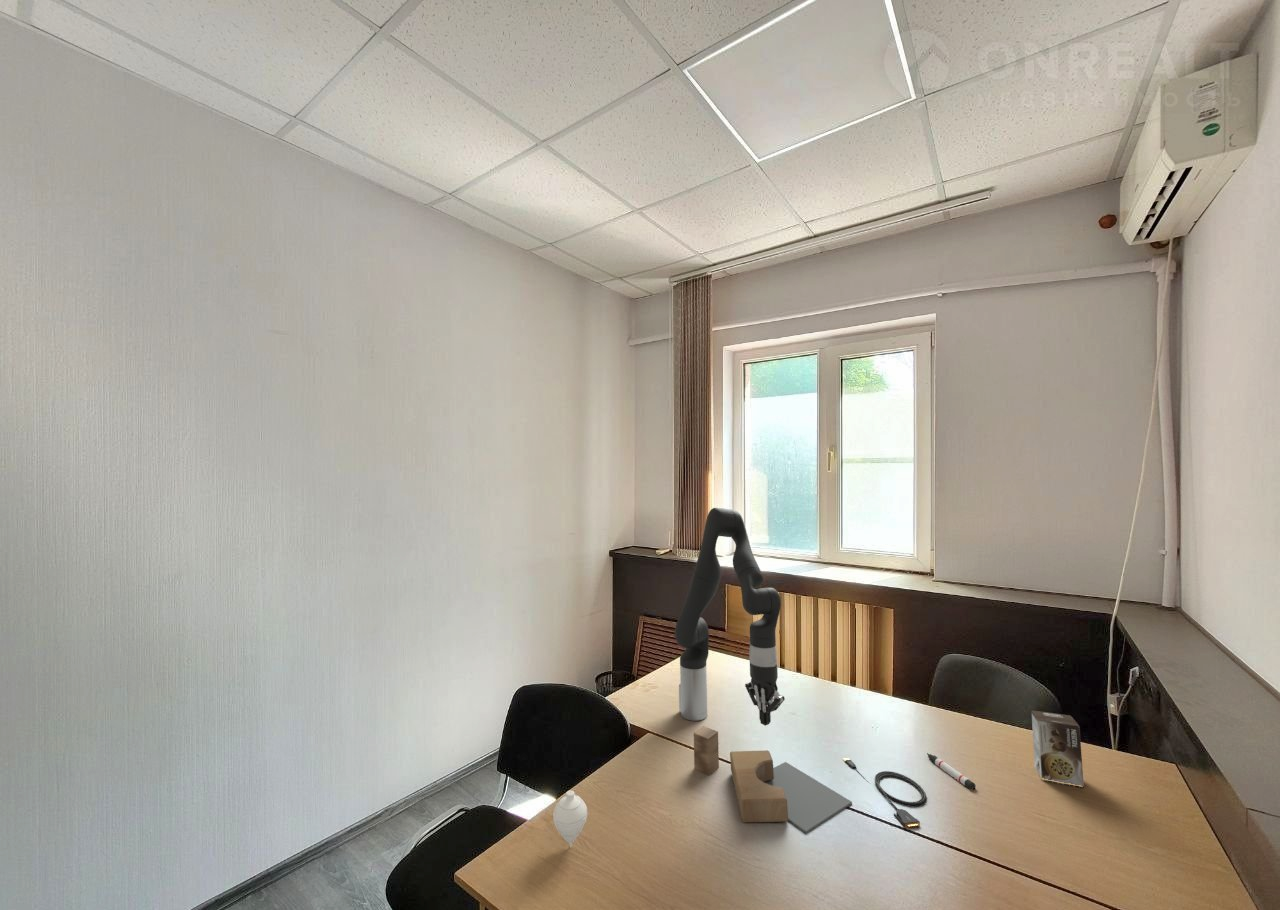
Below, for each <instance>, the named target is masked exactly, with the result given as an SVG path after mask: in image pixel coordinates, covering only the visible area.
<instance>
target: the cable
mask: <svg viewBox="0 0 1280 910" xmlns="http://www.w3.org/2000/svg"><path fill="white" fill-rule="evenodd" d="M842 759H843V762H844V763H845V764H846V765H847V766H848V767H849V768H850V769H852V770H855V771H856V772H857V773H858V775H860V777H862V779H863V780H865V781H866V782H867V783H869V784H870V782H869V781H868V780H867V779H866V777H864V776H863V774H861V773H860V772H859V770H857V766H856V764H855V763H854V762H853V761H852V760H851V759H850V758H842ZM885 778H894V779H898V780H901V781H904V782H906V783H908V784H910V785H911V786H913V787H914V788H915V789H916V790H917V791H918V792H919V794H920V796H921V798H920V799H919V800H916V801H906V800H902V799H899V798H896V797H894V796H893V795H891V794H889V793H888V792H887V791H885V790H884V789H883V788H882V786H881V784H880V782H881V781H882V780H883V779H885ZM874 783H875V787H876V789H877V790H878V792H880V793H881V794H882V795H884V796H885V798H886V799H887V801H889V802H888V803H890V804H891V805H892V806H893V807H894V809H895V810H896V811H895V812H896V813H893V816H894V818H895V819H896V820H897V821H898V822H899V823H900V824H901V825H902V827H903V828H907V829H908V830H909V829H910V828H918V829H919V828H920V826H921V823H920V820H919V819H917V818H915V817H914V816H913V815H912V814H910V812H908V811H907V810H905V809H903V808H898V807H897V806H896V805H895V804H894V803H893V802H895V803H897V804H899V805H902V806H905V807H908V808H909V807H910V808H918V807H922V806H924V805H925V804H926V802H927V799H928V797H927V793H926V791H925V790H924V788H922V786H921V785H919V783H918V782H916V781H915V780H913V779H912V778H910V777H909V776H907V775H904V774H901V773H899V772H895V771H890V770H887V771H884V770H883V771H880V772H878V773H877V774H875V776H874Z"/></svg>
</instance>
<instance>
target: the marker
mask: <svg viewBox="0 0 1280 910" xmlns="http://www.w3.org/2000/svg"><path fill="white" fill-rule="evenodd" d="M926 754H927V757H928V758H929V760H930V761H931V762H932V764H935V766H937V767H938V768H940V769H941V770H943V771H944V772H945V773H947V774H948V775H949V776H951V777H952V778H953V777H954V778H953V779H954V780H956V779H957V780H956V781H957V782H959V783H960V782H961V783H960V784H961V785H963V786H965V787H966V788H968V789H969V790H970V789H972V788H975V789H976V784H975V782H973V781H972V780H971V779H969V778H968V777H966V776H965V775H964V774H962V773H960V772H959V771H958V770H957V769H955V768H954V767H952V766H950V765H949V764H948V763H946V762H945V761H943V760H942V759H941V758H940V757H937V756H936V755H932V754H931V753H928V752H927V753H926ZM972 790H973V789H972Z"/></svg>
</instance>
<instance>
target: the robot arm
mask: <svg viewBox="0 0 1280 910" xmlns="http://www.w3.org/2000/svg"><path fill="white" fill-rule="evenodd" d="M705 520H706V521H705V526H704V529H703V534H702V540H701V546H700V549H699V553H698V557H697V560H696V564H695V567H694V570H693V573H692V577H691V581H690V584H689V587H688V591H687V594H686V598H685V601H684V604H683V606H682V609H681V612H680V615H679V617H678V619H677V622H676V624H675V629H674V638H675V641H676V644H677V645H679V647H681V648H685V650H684V651H683V652H682V654H681V655H680V657H679V675H680V676H679V677H680V680H679V681H680V683H679V685H678V704H679V709H678V710H679V711H678V712H679V713H680V715H681V717H682V718H683V719H685V720H688V721H693V722H695V721H702V720H704V719H706V718H707V717H708V685H707V684H708V683H707V681H708V680H707V678H708V677H707V660H708V658H709V652H710V651H709V650H710V649H709V647H710V646H709V645H710V640H709V638H710V633H709V626H708V624H707V622H706V621H705V619H704V618H703V617H701V616H702V614H703V613H704V611H705V609H706V608H707V607H708V606H709V604H710V602H711V601H712V599H713V598H714V597H715V595H716V593H717V591H718V588H719V584H720V582H721V578H722V567H721V564H720V562H719V559H718V556H717V551H716V546H717V541H718V538H719V537H724V538H725V537H726V538H731V539H732V540H733V542H734V544H735V550H734V552H733V557H732V566H733V569H734V572H735V574H736V576H737V579H738V582H739V584H740V590H741V600H742V601H741V604H742V607H743V609H744V610H745V612H746V613H748V614H749V615H751V616H758V615H762V617H761V618H760V619H758V620H756V621H753V622H752V623H750V624H749V650H748V651H749V652H748V653H749V676H750V678H751V679H750V681H749V682H747V683H745V684H744V687H745V690H746V692H747V693H748V695H749V697H750V699H751V702H752V704H753V706H756V707H757V709H758V715H759V716H758V717H759V722H760V724H762V725H763V726H768V725H769V724H770V723H771V715H772V714H771V713H772V712H775V711H777V709H779V707H780V706H781V705H782V704H783V703H784V702H785V700H786V699H785V695H781V694H780V693H779V692H778V690H779V689H778V686H777V680H778V678H779V677H778V674H779V673H778V652H777V651H778V650H777V646H776V645H777V643H776V641H777V640H776V631H777V630H776V629H777V625H778V619H779V616H780V612H781V607H782V598H781V596H780V593H779V592H778V590H777V589H775V588H774V587H760V586H761V585H762V584H763V583H764V575H763V573H762V571H761V569H760V567H759V564H758V562H757V560H756V557H755V556H754V553H753V551H752V548H751V544H750V543H751V542H750V540H749V536H748V532H747V529H746V526H745V521H744V519H743V517H742V515H741V513H740V512H739V511H738V510H736V509H729V508H723V507H712V508H711V509H710V511H709V512H708V514H707V517H706V519H705ZM758 587H760V588H758Z"/></svg>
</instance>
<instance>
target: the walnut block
mask: <svg viewBox="0 0 1280 910" xmlns="http://www.w3.org/2000/svg"><path fill="white" fill-rule="evenodd" d="M693 759H694V761H693V763H694V764H693V765H694V770H697V771H698V772H700V773H703V774H705V775H707V776H711V774H713V773H714V772H715V771H717V770H718V769H719V768H720V765H719V764H720V759H719V731H717V730H715V729H712V728H710V727H707V726H705V725H703V726H701V727H700V728H698V729H697V730H696V731H694V732H693Z"/></svg>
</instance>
